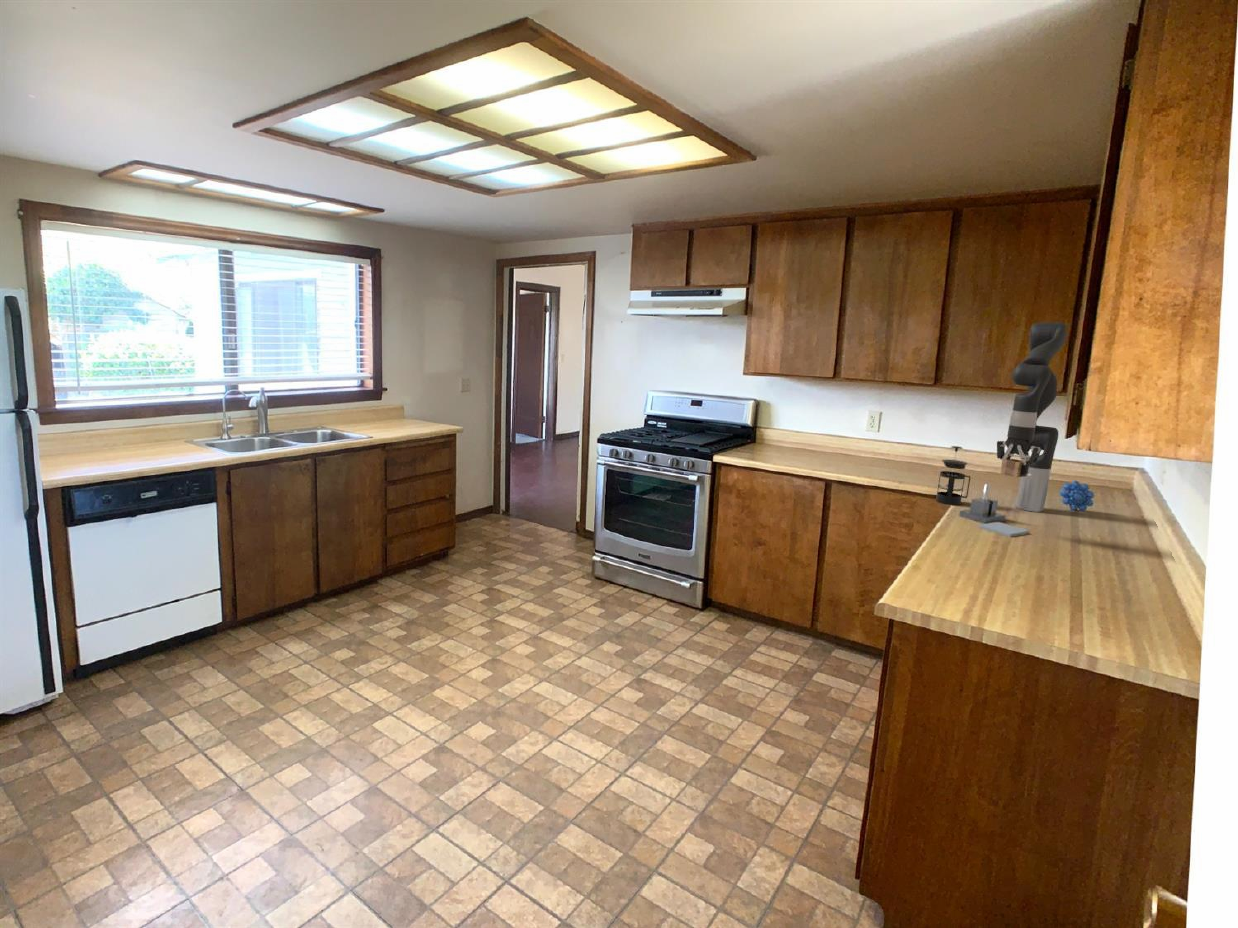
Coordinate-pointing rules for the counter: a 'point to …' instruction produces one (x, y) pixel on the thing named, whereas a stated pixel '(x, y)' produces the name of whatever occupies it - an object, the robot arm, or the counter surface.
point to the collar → (1011, 467)
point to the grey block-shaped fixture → (983, 509)
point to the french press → (952, 482)
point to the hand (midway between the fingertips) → (1013, 473)
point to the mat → (1004, 529)
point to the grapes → (1077, 495)
